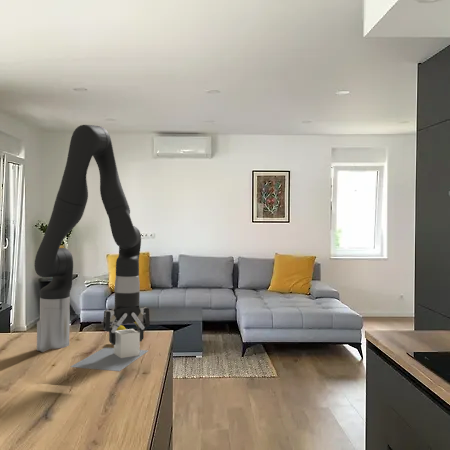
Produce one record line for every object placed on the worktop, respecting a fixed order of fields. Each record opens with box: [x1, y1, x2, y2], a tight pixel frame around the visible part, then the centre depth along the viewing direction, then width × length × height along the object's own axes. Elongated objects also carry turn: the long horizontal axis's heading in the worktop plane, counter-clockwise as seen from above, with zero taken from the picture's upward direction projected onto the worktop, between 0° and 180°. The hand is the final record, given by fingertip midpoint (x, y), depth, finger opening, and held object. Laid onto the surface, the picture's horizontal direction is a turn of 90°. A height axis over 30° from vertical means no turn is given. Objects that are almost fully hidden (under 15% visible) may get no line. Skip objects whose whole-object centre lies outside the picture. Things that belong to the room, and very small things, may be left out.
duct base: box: [70, 346, 149, 372], centre depth 150 cm, size 15×22×2 cm
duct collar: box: [113, 328, 141, 358], centre depth 154 cm, size 6×6×7 cm
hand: (126, 342), depth 154 cm, fingers open, 8 cm apart
